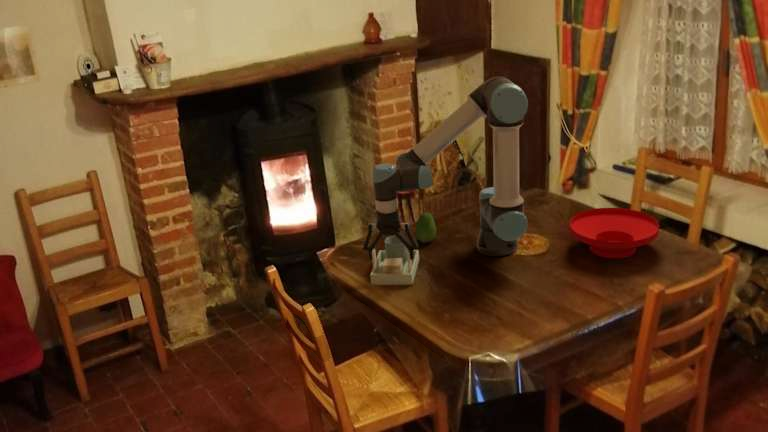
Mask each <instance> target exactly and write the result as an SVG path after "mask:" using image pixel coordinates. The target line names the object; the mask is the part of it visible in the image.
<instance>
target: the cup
mask: <svg viewBox="0 0 768 432" xmlns="http://www.w3.org/2000/svg"><path fill="white" fill-rule="evenodd" d="M384 250H385V253H386V258H402V262H403V266H404V265H405V264H406V261H407V250H408V249H407V248H406V246H405V245H404V244H403V243H402V242H401V241H400V239H399V238H397V237H396V236H395V235H394V236H390V235H389V236H387V237H386V238H385V239H384Z"/></svg>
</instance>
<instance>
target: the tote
mask: <svg viewBox="0 0 768 432" xmlns="http://www.w3.org/2000/svg"><path fill="white" fill-rule="evenodd" d="M407 251H408V249H407ZM413 251H414V258H413V259H411V264H412V266H411V269H408V258H407V261H406V264H405V265H404V266H403V274H383V267H382V266H383V263H384V260H385V258H386V253H385V249H384V250H381V249H380V250H379V251H378V254H377V255H376V262H377V267H376V269H373V268H372V270H371V271H370V274H369V276H370V285H371V286H413V284H414V281H415V278H416V275H417V270H418V266H419V263H420V252H419V249H417V250H413Z"/></svg>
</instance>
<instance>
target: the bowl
mask: <svg viewBox="0 0 768 432" xmlns="http://www.w3.org/2000/svg"><path fill="white" fill-rule="evenodd" d="M568 230H569V233H570V235H571V236H572V237H573V238H575V239H576V240H578V241H580V242H582V243H584V244H587V245H589V250H590V252H591V253H593V254H594V255H596V256H598V257H602V258H607V259H624V258H628V257H631V256H632V255H634V254H635V253H636V251H637V247H640V246H644V245H648V244H650V243H651V242H653V241H655V240H656V239H657V238H658V236H659V231H660V223H659V222H658V220H657V219H656V218H654V217H653V216H651V215H649V214H647V213H645V212H643V211H640V210H635V209H630V208H624V207H623V208H622V207H600V208H599V207H598V208H592V209H588V210H584V211H581V212H579V213H576V214H575V215H574V216H573V217H571V218H570V220H569V229H568Z"/></svg>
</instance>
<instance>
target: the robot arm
mask: <svg viewBox="0 0 768 432" xmlns="http://www.w3.org/2000/svg"><path fill="white" fill-rule="evenodd" d="M528 106H529V101H528V98H527V95H526V94H525V92H524V90H523V88H521V87H520V86H519V85H517V84H515V83H513V82H512V81H511V80H510V79H508V78H506V77H504V76H494V77H491V78H489V79H487V80H485V81H484V82H483V83H481V84H480V85H479V86H477V88H475V89H474V90H473V91H472V92H470V93H469V94H468V95H467V100H466V101H465V102H464V103H462V104H461V105H460V106H459V107H458V108H457V109H455V111H453V112H452V113H451V114H450V115H449V116H448V117H447V118H446V119H444V120H443V121H442V122H441V123H440V124H438V126H436V127H435V128H434V129H433V130H432V131H431V132H429V133H428V134H427V135H426V136H425V137H424V138H423V139H421V140H420V141H419V142H418V143H416V145H414V146H413V147H412V148H411V149H410V150H408V151H407V152H406V151H405V152H402V153H400V154H399V155H398V156H396V160H395V165H394V164H393V163H388V162H387V163H386V162H385V163H379V164H377V165H374V167H373V168H372V183H373V192H374V204H375V212H376V223H373V222H372V221H371V222H369V224H368V232H367V235H366V238H365V242H364V244H363V248H362V250H364V251H367V252H368V256H369V258H368V259H369V261H371V260H372V269H376V267H377V262H376V258H377V253H376V248H375V247H376V246H377V244H378V243H379V241H380V240H381V238H382V237H383V236H384V237H386V236H387V237H390V236H396V237H397V238H399V239H400V241H401V242H402V243H403V244H404V245H405V246H406V248H407V250H408V251H407V258H408V269H411V266H412V264H411V259H413V258H414V251H413V250H419V249H418V248H419V244H418V243H419V242H418V240H416V237H415V236H414V234H413V232H412V230H411V227H410V222H409V221H406V222H401V221H400V212H399V201H398V193H400V192H407V191H408V192H409V191H416V190H423V189H428V188H431V187H432V186H433V174H432V170H431V167H430V166H429V165H428V164H429V163H430V162H431V161H432V160H434V158H436V157H437V156H438V155H439V154H440V153H442V152H443V151H444V150H445V149H446V148H448V146H449V147H450V145H451V144H452V143H454V142H455V141H456V140H457V139H458V138H459V137H461V136H462V135H463V134H464V133H465V132H467V131H468V130H469V128H471V127H472V126H473V125H474V124H476V123H477V122H478V121H479V120H480V119H481V118H487V125H488V126H490V128H492V156H493V157H492V160H493V161H492V165H493V167H492V168H493V170H492V171H493V186H491V187H486V188H484V189H481V190H480V192H479V194H478V195H479V197H478V200H479V201H478V202H479V216H480V218H479V219H480V222H479V223H480V230H479V233H478V237H477V240H476V250H477V251H478V252H479V253H480V254H482V255H485V256H490V257H503V256H508V255H511V254H513V253H512V252H513V251H515V249H517V247H518V248H519V240H518V239H520V238H521V237H522V236H523V235H524V234H525V233H526V231H527V229H528V225H529V224H528V223H529V222H528V217H527V216H526V215H525V211H524V210H525V203H524V201H525V200H524V197H522V196H521V194H520V128H521V127H522V126H523V125H524V124H525V123H524V120H525V115H526V113H527V112H528V108H529V107H528ZM401 228H402V229H403V230H404V232H405V233H406V235H407V237H408V238H407V237H406V236H405V235H404V234H403V232H402V230H400V229H401ZM375 229H377V230H378V231H379V232H378V233H377V235H376V236H375V237H374V240H373V241H372V243H371V244H370V241H371V238H372V234H373V231H374V230H375ZM369 244H370V245H369ZM517 250H518V249H517ZM515 252H516V251H515Z"/></svg>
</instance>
